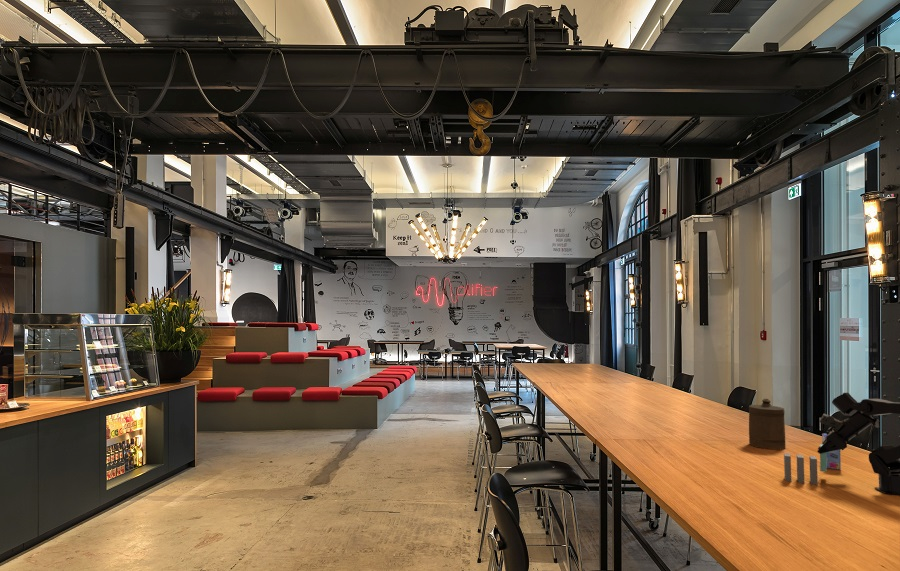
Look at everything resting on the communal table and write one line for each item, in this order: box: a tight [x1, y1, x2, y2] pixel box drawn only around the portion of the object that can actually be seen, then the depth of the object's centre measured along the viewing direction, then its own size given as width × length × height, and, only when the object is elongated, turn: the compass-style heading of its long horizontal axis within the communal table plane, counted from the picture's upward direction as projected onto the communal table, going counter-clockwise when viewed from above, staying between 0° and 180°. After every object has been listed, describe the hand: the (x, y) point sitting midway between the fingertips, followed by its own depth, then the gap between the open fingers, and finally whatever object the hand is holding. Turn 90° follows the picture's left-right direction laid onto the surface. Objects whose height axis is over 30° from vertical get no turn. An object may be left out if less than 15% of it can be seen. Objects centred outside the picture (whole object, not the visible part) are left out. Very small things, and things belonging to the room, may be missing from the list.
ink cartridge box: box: [821, 433, 842, 471], centre depth 222 cm, size 10×6×14 cm, turn 152°
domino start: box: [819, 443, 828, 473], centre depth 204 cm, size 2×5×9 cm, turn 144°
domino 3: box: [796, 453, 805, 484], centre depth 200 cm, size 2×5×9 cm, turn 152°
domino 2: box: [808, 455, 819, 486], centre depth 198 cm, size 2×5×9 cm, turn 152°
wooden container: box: [748, 398, 787, 450], centre depth 258 cm, size 15×15×22 cm
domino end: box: [783, 452, 792, 482], centre depth 202 cm, size 2×5×9 cm, turn 152°
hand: (818, 451), depth 205 cm, fingers closed on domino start, 5 cm apart
